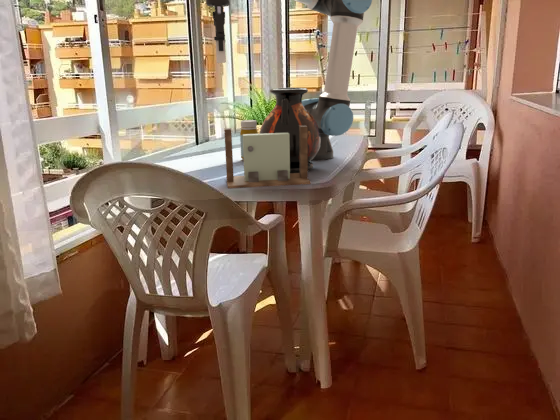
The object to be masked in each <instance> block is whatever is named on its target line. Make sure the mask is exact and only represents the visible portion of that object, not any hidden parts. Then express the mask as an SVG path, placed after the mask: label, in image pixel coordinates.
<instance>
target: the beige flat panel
mask: <svg viewBox="0 0 560 420" xmlns="http://www.w3.org/2000/svg"><path fill="white" fill-rule="evenodd" d="M243 157H244V160H243V176H244V179H245V181H249V180H248V172H255V171H258V174H259V181H260V180H278V173H277V170H287V171H288V179H290V174H291V173H290V142H289V133H264V134H259V133H258V134H243Z"/></svg>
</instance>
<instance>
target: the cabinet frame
mask: <svg viewBox="0 0 560 420" xmlns="http://www.w3.org/2000/svg"><path fill="white" fill-rule="evenodd" d="M223 129H224V130H223V131H224V148H225V149H224V151H225V166H226V184H227V188H228V189H238V188H240V189H241V188H257V187H259V188H260V187H277V186H279V187H280V186H281V185H282V186H298V185H301V184H302V185H311V183H312V182H311V180H310V179H309V178H308V177H309V176H308V175H309V173H308V172H309V171H308V157H307V126H306V125H304V126H299V162H300V173H290V179H288V171H287V170H277V173H278V180H260V181H259V174H258V171H255V172H248V180H249V181H245V179H244V175H234V159H233V157H234V156H233V137H232V135H233V134H232V128H230V127H225V128H223Z"/></svg>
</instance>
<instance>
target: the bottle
mask: <svg viewBox="0 0 560 420" xmlns="http://www.w3.org/2000/svg"><path fill="white" fill-rule="evenodd" d="M257 123H258V122H257V120H256V119H246V120H245V119H244V120H240V128H241V130H240V132H239V133H240V134H239V137H240V139H239V140H240V158H241V159H242V160H243V161H244V157H243V134H259V131H258V130H257V127H258V125H257Z"/></svg>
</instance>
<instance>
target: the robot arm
mask: <svg viewBox="0 0 560 420" xmlns="http://www.w3.org/2000/svg"><path fill="white" fill-rule="evenodd" d="M293 1H295V2H297V3H299V4H304V5H306V7H307V9H309V10H311V11H314V12H317V13H320V14H323V15H326V16H329V17H330V21H331V22H332V23H333V26H332V33H331V40H330V47H329V53H328V61H327V68H326V73H325V81H324V89H323V92H322V93H321V94H319V96H318V97H316V98H315V97H314V98H307V99H302V104H303V106H304V108H305V109H306V110H307V111H308V112H309V113H310V115H311V116H312V117H313V118H314V120H315V121H316V123H317V126H318V129H319V132H320V139H321V141H320V148H319V151H318V153H317V154H316V156H315V157H314V158H313V159H312V160H311V161H323V160H331V159H333V158H334V150H333V146H332V142H331V140H330V137H331V136H332V137H333V136H334V137H336V136H337V137H338V136H342V135H344V134H346V133H347V132H348V131H349V130H350V129H351V126H352V125H353V122H354V112H353V111H352V108H351V107H350V104H351V99H350V97H349V95H348V90H349V86H350V84H349V83H350V77H351V72H352V64H353V58H354V51H355V46H356V40H357V39H356V38H357V32H358V27H359V26H360V25H361V24H362V23H363V21H364V16H365V12H367V11H368V10H369V9H370V7H371V5H372V2H373V0H293ZM205 2H206V6H207V7H211V8H212V7H214V11H212V19H213V26H214V27H215V30H214V31H215V36H213V40H214V41H215V54H216V55H215V56H216V64H219V63H220V64H221V63H222V64H224V63H227V56H226V55H227V54H226V34H225V24H226V11H224V7H229V6H231V0H205Z"/></svg>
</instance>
